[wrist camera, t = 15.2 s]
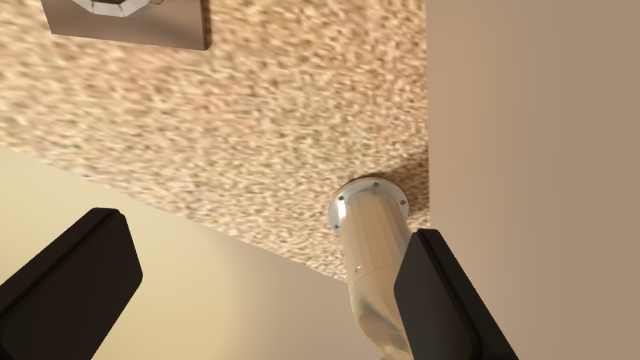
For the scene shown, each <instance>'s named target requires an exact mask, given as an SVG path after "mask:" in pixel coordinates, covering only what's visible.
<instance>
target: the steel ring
mask: <svg viewBox="0 0 640 360" xmlns="http://www.w3.org/2000/svg"><path fill="white" fill-rule="evenodd" d="M73 1H74V2H76V3H77V4H79V5H80V6H82V7H83V8H85V9H87V10H88V11H90V12H91V13H94V14H101V15H109V16H118V17H131V18H139V17H141V16H143V15H144V14H146V13H148V12H149V11H151V10H153V9H154V8H156V7H158V6H160V4H162V1H163V0H126V1H125V2H123V3H122V4H120V5H118V4H109V3H108V2H106V1H105V0H73Z"/></svg>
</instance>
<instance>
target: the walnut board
mask: <svg viewBox="0 0 640 360" xmlns="http://www.w3.org/2000/svg"><path fill="white" fill-rule="evenodd" d="M105 1H106V2H108V3H109V4H118V5H120V4H122V3H123V2H125V1H126V0H105ZM41 3H42V6H43V9H44V12H45V15H46V18H47V21H48V24H49V27H50V30H51V33H52V34H57V35H67V36H76V37H85V38H94V39H103V40H112V41H121V42H130V43H139V44H148V45H157V46H166V47H175V48H184V49H193V50H202V51H205V50H207V42H206V30H205V19H204V8H203V0H163V1H162V4H160V6H158V7H156V8H154V9H153V10H151V11H149V12H148V13H146V14H144V15H143V16H141V17H139V18H131V17H118V16H109V15H101V14H94V13H91V12H90V11H88V10H87V9H85V8H83V7H82V6H80V5H79V4H77V3H76V2H74V1H73V0H41Z"/></svg>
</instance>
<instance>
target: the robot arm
mask: <svg viewBox="0 0 640 360" xmlns="http://www.w3.org/2000/svg"><path fill="white" fill-rule="evenodd" d="M375 182H376V183H375ZM408 213H409V204H408V200H407V198H406V196H405V194H404V192H403V191H402V190H401V188H400V187H399V186H397V185H396V184H395V183H393V182H391V181H389V180H387V179H384V178H378V177H365V178H360V179H357V180H354V181H352V182H349V183H348V184H346V185H344V186H343V187H342V188H341V189H340V190H338V191H337V193H336V194H335V195H334V196H333V198H332V200H331V202H330V205H329V210H328V216H329V222H330V225H331V227H332V229H333V231H334V232H335V233H336V234H337V235H338V236H339V237H341V238H342V245H343V252H344V259H345V266H346V272H347V279H348V286H349V293H350V299H351V306H352V311H353V315H354V318H355V321H356V323H357V325H358V327H359V329H360V330H361V331H362V333H363V334H364V335H365V336H366V337H367V338H368V339H369V340H370V341H371V342H372V343H373V344H374V345H375V346H377V347H378V348H379V349H380V350H381V351H383V352H384V353H385V355H384V356H383V357H382V358H379V359H376V360H519V359H518V357H517V356H516V354H515V352H514V351H513V349H512V348H511V346H510V344H509V343H508V341H507V340H506V338H505V336H504V335H503V333H502V331H501V330H500V328H499V327H498V325H497V323H496V322H495V320H494V319H493V317H492V316H491V314H490V312H489V311H488V309H487V307H486V306H485V304H484V303H483V301H482V299H481V298H480V296H479V295H478V293H477V291H476V290H475V288H474V287H473V285H472V283H471V282H470V280H469V279H468V277H467V276H466V274H465V272H464V271H463V269H462V268H461V266H460V264H459V263H458V261H457V259H456V258H455V257H454V255H453V253H452V252H451V250H450V248H449V247H448V245H447V244H446V242H445V240H444V239H443V237H442V236H441V234H440V232H439V231H438V230H436V229H423V228H420V229H418V230H417V232H413V233H412V232H411V230H410V228H409V226H408V224H407V221H406V219H407V217H408ZM142 278H143V273H142V269H141V266H140V263H139V260H138V257H137V253H136V250H135V247H134V243H133V240H132V237H131V234H130V231H129V228H128V224H127V221H126V218H125V216H124V215H123V214H121V213H120V212H119V210H117V209H112V208H97V207H96V208H93V209H91V210H90V211H88V212H87V213H86V214H85V215H84V216H82V217H81V218H80V219H79V220H78V221H76V222H75V223H74V224H73V225H72V226H71V227H70V228H68V229H67V230H66V231H65V232H63V233H62V234H61V235H60V236H59V237H57V238H56V239H55V240H54V241H53V242H52V243H50V244H49V245H48V246H47V247H46V248H44V249H43V250H42V251H41V252H40V253H39V254H37V255H36V256H35V257H34V258H33V259H31V260H30V261H29V262H28V263H27V264H25V265H24V266H23V267H22V268H21V269H19V271H17V272H16V273H15V274H14V275H12V276H11V277H10V278H9V279H8V280H6V281H5V282H4V283H3V284H2V285H1V286H0V360H91V359H92V357H93V356H94V354H95V353H96V351H97V350H98V348H99V346H100V345H101V343H102V342H103V340H104V339H105V337H106V336H107V334H108V333H109V331H110V330H111V328H112V327H113V325H114V324H115V322H116V320H117V319H118V318H119V316H120V314H121V313H122V311H123V310H124V308H125V307H126V305H127V304H128V302H129V300H130V299H131V298H132V296H133V295H134V293H135V292H136V290H137V289H138V287H139V285H140V283H141V281H142Z"/></svg>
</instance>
